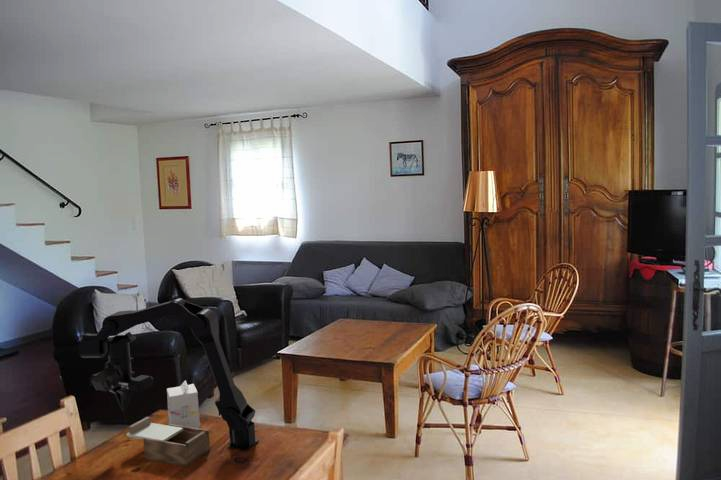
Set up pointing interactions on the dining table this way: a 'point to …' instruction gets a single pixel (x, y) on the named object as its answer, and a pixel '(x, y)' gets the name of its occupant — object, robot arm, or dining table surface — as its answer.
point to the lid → (152, 430)
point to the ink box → (183, 405)
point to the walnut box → (179, 447)
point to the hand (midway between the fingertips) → (124, 409)
